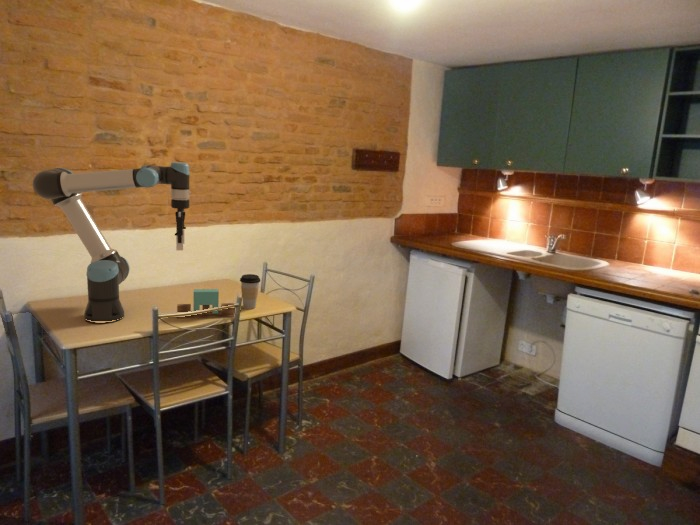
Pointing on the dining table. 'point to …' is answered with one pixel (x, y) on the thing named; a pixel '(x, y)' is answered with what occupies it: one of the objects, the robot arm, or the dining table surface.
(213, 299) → the clip
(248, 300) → the coffee cup
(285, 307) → the dining table surface
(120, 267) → the robot arm
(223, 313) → the rail
